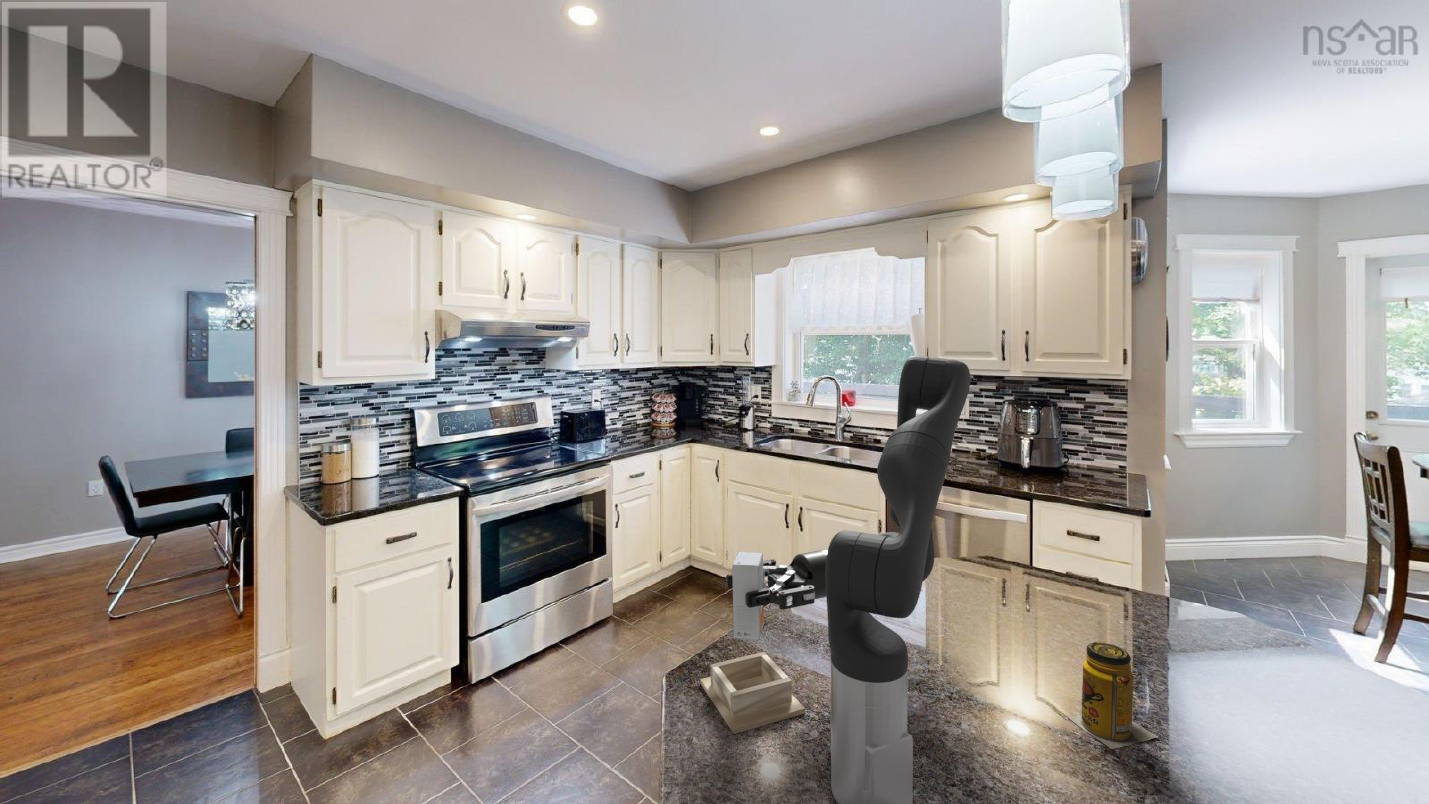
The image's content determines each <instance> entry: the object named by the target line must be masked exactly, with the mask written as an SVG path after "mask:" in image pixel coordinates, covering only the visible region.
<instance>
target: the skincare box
mask: <svg viewBox="0 0 1429 804" xmlns="http://www.w3.org/2000/svg"><path fill="white" fill-rule="evenodd" d="M763 561H764V555H763V552H749V551H747V552H746V551H738V553H737V555H736V556H735V558H734V560H733V563H732V565H731V566H732V572H731V574H732V578H733V588H732V612H733V613H732V615H733V622H732V623H733V624H732V625H733V638H734V639H740V640H752V641H754V640H755V641H759V640H761V635H762V631H763V626H764V624H765V605H761V606H756V607H752V608H749V607H748V606H746V603H745V595H746V593H747V592H751V591H756V590H761V589H764V588H763Z"/></svg>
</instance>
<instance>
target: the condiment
mask: <svg viewBox="0 0 1429 804" xmlns="http://www.w3.org/2000/svg"><path fill="white" fill-rule="evenodd" d="M1131 661H1132V657H1131V656H1130V654H1129V652H1128V651H1127V650H1125V649H1124V648H1122V647H1120V646H1118V645H1115V644H1112V643H1107V642H1102V641H1094V642H1091V643H1088V645H1087V646H1086V655H1085V661H1083V664H1082V687H1081V714H1077V715H1073V716H1067V719H1069V720H1070V721H1072V722H1073V723H1074V724H1076V725H1077V726H1078V727H1080V728H1081V729H1083V731H1085V732H1086V733H1088V734H1089V735H1091V736H1092V737H1093V738H1095V739H1096V740H1097V741H1099V742H1102V744H1103V745H1106V746H1107V747H1108V748H1109V749H1110V750H1112V749H1113V750H1114V749H1119V748H1123V747H1129V746H1130V745H1131V746H1132V745H1135V744H1138V743H1140V742H1146V741H1150V740H1152V739H1155V738H1156V739H1157V738H1159V736H1158V735H1156V734H1155V733H1153V732H1151V731H1149V730H1147V729H1146V728H1144V727H1143V726H1140V725H1139V724H1138V723H1136V722H1134V721H1133V706H1134V703H1133V702H1134V678H1135V677H1134V674H1133V673H1132V665H1131Z"/></svg>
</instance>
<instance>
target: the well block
mask: <svg viewBox="0 0 1429 804" xmlns="http://www.w3.org/2000/svg"><path fill="white" fill-rule="evenodd" d="M709 667H710V668H709V669H710V671H709V672H710V674H709V676H708V677H703V678H700V683H699V684H700V685H701V687H702V688H703V690H704V691H705V693H706V694H707V696H708V697H709V699H710V700H711V701H712V703H713V705H714V706H715V708H716V709H717V711H718V712H719V714H720V715H721V717H722V718H723V720H724V721H725V723H726V725H727V726H728V727H729V729H730V730H731V732H732V733H733V734H734V735H736V734H739V733H742V732H746V731H749V730H753V729H755V728H760V727H763V726H765V725H770V724H773V723H777V722H781V721H783V720H787V719H790V718H793V717H797V716H800V715H804V714H805V713H806V711H805V710H806V708H805V707H804V706H803V705H802V704H801V703H800V701H799V700H798V699H797V698H796V697H795V696H794V695H793V694H792V693H793V692H792V689H793V688H792V686H793V683H792V681H793V680H792V679H791V678H790V677H789V676H788V675H787V674H786V673H785V672H784V671H783V670H782V669H781V667H779V666H778V665H777V664H776V663H775V662H774V660H773V659H772V658H770V656H769V655H768V654H767V653H766V652H765V651H761V652H757V653H753V654H750V655H749V654H748V655H745V656H740V657H736V658H732V659H728V660H727V659H726V660H723V661H720V662H716V663H712V664H710V665H709Z"/></svg>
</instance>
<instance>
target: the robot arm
mask: <svg viewBox="0 0 1429 804" xmlns="http://www.w3.org/2000/svg"><path fill="white" fill-rule="evenodd" d="M902 366H903V367H902V370H901V373H900V378H899V383H898V398H897V417H896V419H897V420H896V428H895V429H894V430H893V431H892V433H890V435H889V436H888V437H887V440H886V442H885V444H884V448H883V449H882V453H881V455H880V458H879V460H878V464H877V469H876V471H877V472H876V474H877V479H878V483H879V485H880V488H881V491H882V493H883V494H884V497H885V498H886V500H887V502H888V504H889V505H890V506H889V515H890V516H889V517H890V519H891V520H892V521H893V523H894V524H895V525H896V526H897V527H898V529H899V530H900V531H899V532H895V531H891V532H889V531H886V532H883V533H880V534H873V533H868V532H862V531H861V532H860V531H855V530H854V531H853V530H841V531H838V532H837V533H835V535H834V536H833V537H832V539H831V540H830V543H829V545H828V547H827V548H825V549H821V550H815V551H809V552H804V553H799V554H796V555H795V556H794V557H793V559H792V561H791V563H790V564H789V565H788V564H787V565H785V564H777V560H776V559H775V558H771V559H770V558H769V559H766V560H763V589H761V590H756V591H751V592H747V593H746V595H745V603H746V606H748V607H749V608H752V607H756V606H761V605H764V606H765V605H768V604H769V605H770V606H778V608H779V610H789V609H794V608H797V607H798V608H799V607H803V606H807V605H812V604H815V600H818V599H823V598H826V606H827V609H826V610H827V611H826V612H827V633H828V645H829V648H830V764H831V765H830V768H831V769H830V777H831V778H830V781H831V782H830V783H831V784H830V785H831V787H830V788H831V792H832V793H831V794H832V796H833V798H834V801H835V802H836V803H837V804H913V802H914V801H913V798H914V797H913V788H914V787H913V784H914V783H913V782H914V781H913V780H914V779H913V777H914V773H913V771H914V770H913V767H914V763H913V762H914V739H913V737H912V735H911V734H910V733H909V732H908V689H909V688H908V683H909V682H908V680H909V679H908V676H909V675H908V674H909V673H908V670H909V669H908V668H909V654H908V653H909V651H908V646H907V645H906V644H907V643H905V641H904V639H903V638H902V637H901V635H899V634H898V633H897V632H895V631H894V630H893V629H891V628H890V627H888V626H887V625H885V624H883V623H882V622H881V621H879V620H878V619H877V618H875V617H874V616H873V615H872V614H874V615H878V616H881V617H887V618H893V619H905V618H908V617H909V616H910V615H912V614H913V612H914V611H915V609H916V607H917V604H918V601H919V599H920V595H921V591H922V586H923V582H924V581H925V580H927V578H928V577H929V576H930V575H931V573H932V571H933V568H934V564H935V545H934V536H933V534H934V533H933V527H932V526H933V521H934V517H935V512H936V509H937V506H938V502H939V498H940V496H941V493H942V492H941V491H942V489H943V486H944V483H945V480H946V476H947V471H948V466H949V463H950V459H951V458H950V457H951V454H952V453H951V452H952V447H953V444H954V437H955V432H956V429H957V426H958V424H959V421H960V418H961V415H962V412H963V409H964V407H965V404H966V401H967V398H968V395H969V392H970V386H971V372H970V369H969V366H968V365H967V364H966V363H965V362H963V361H959V360H957V359H951V358H944V357H943V358H942V357H935V356H934V357H932V356H926V355H925V356H923V355H911V356H909V357H908V358H907V359H906V361H905V363H904V364H903V365H902ZM917 410H923V411H924V412H922V413H920V414H918V415H917ZM766 578H767V581H766ZM725 586H726V588H728V589H731V590H733V578H732V573H730V574H727V575H726V576H725ZM789 599H791V600H789ZM788 600H789V601H788Z"/></svg>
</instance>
